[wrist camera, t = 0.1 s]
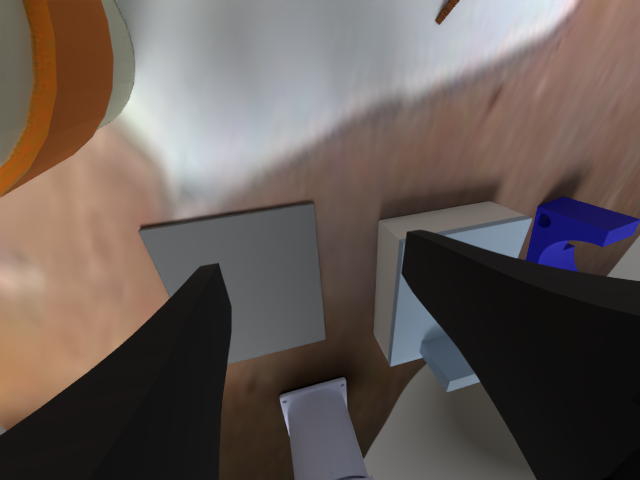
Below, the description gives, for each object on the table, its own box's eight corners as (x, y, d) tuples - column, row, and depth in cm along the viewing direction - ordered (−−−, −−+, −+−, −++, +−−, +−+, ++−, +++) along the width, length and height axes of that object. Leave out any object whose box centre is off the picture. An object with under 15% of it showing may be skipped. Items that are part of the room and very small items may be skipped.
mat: (324, 336, 26) (325, 339, 26) (205, 366, 24) (204, 369, 24) (312, 202, 19) (313, 203, 19) (140, 228, 17) (138, 231, 17)
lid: (475, 327, 28) (521, 374, 23) (383, 352, 26) (412, 408, 21) (513, 210, 21) (591, 242, 16) (392, 233, 19) (440, 276, 14)
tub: (459, 311, 30) (482, 334, 27) (373, 333, 28) (387, 361, 25) (489, 201, 23) (525, 215, 20) (378, 220, 21) (399, 239, 18)
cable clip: (548, 279, 32) (606, 313, 27) (517, 291, 31) (569, 328, 26) (574, 191, 26) (656, 213, 20) (535, 205, 25) (608, 231, 20)
